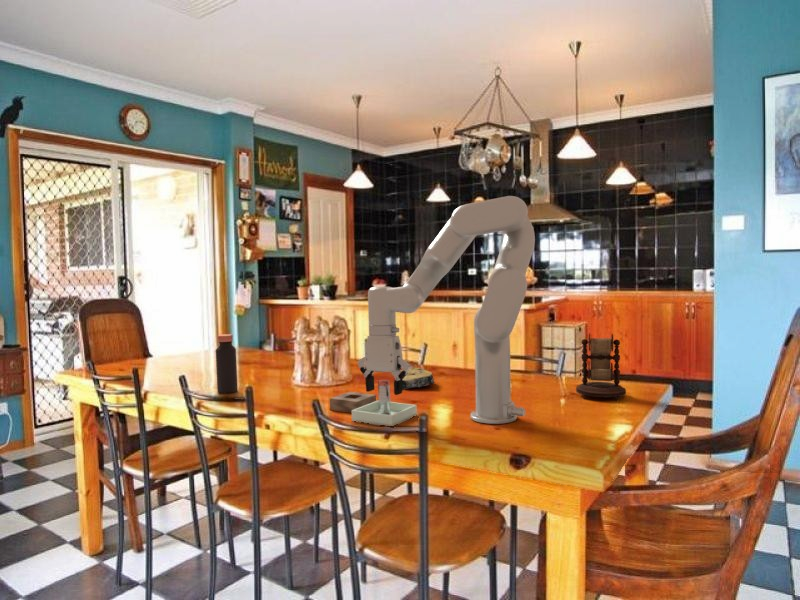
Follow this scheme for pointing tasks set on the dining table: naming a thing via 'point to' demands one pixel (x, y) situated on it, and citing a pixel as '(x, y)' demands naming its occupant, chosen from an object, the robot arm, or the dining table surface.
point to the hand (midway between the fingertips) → (384, 392)
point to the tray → (372, 416)
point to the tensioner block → (350, 401)
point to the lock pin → (384, 397)
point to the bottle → (226, 365)
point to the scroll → (600, 369)
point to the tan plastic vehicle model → (417, 378)
